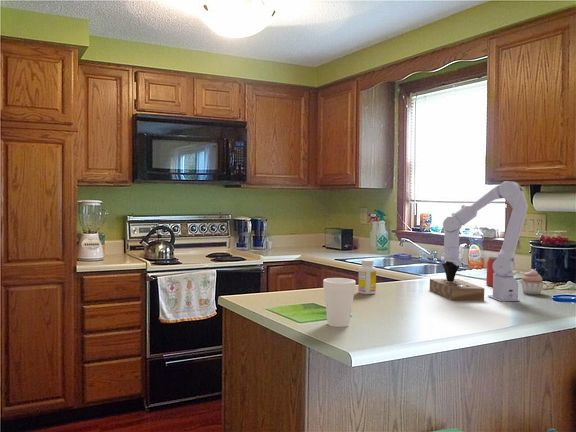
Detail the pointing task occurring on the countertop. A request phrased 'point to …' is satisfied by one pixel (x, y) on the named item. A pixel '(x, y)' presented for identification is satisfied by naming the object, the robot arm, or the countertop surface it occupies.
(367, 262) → the supplement bottle
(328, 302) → the foam cup
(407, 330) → the countertop surface
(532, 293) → the cupcake
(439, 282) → the walnut block
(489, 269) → the beer can
